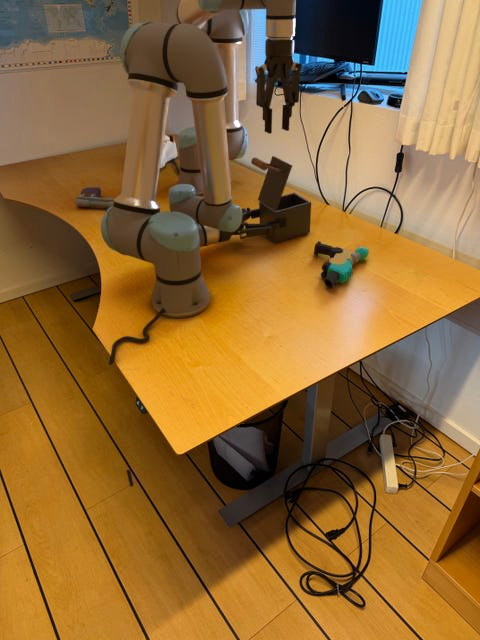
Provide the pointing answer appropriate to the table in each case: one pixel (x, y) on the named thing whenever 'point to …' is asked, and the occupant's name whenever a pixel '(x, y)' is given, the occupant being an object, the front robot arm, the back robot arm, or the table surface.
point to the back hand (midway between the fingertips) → (276, 130)
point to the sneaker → (168, 150)
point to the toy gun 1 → (93, 199)
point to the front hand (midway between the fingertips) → (277, 216)
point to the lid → (273, 180)
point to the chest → (288, 217)
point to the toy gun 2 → (338, 262)
